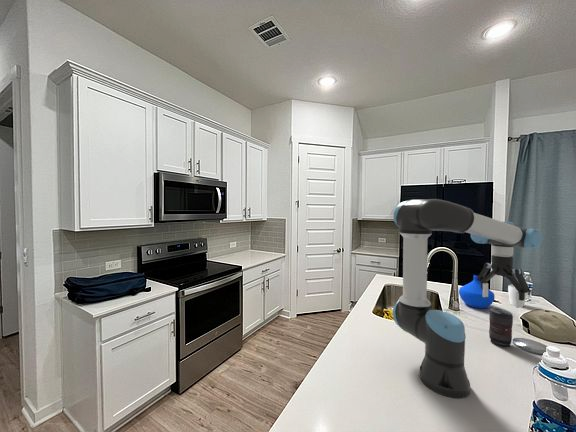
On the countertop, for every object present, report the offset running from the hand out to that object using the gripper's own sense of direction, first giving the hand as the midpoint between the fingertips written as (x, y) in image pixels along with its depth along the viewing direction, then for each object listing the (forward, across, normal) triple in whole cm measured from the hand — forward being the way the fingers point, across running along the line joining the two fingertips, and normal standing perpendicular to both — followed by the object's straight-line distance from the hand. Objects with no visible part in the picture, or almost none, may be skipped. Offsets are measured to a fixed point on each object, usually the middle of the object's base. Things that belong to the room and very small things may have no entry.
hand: (501, 301), depth 113 cm
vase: (+20, +37, -37) cm, 56 cm away
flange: (+19, -6, -10) cm, 22 cm away
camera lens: (+19, 0, 0) cm, 20 cm away
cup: (+20, +30, -64) cm, 73 cm away
